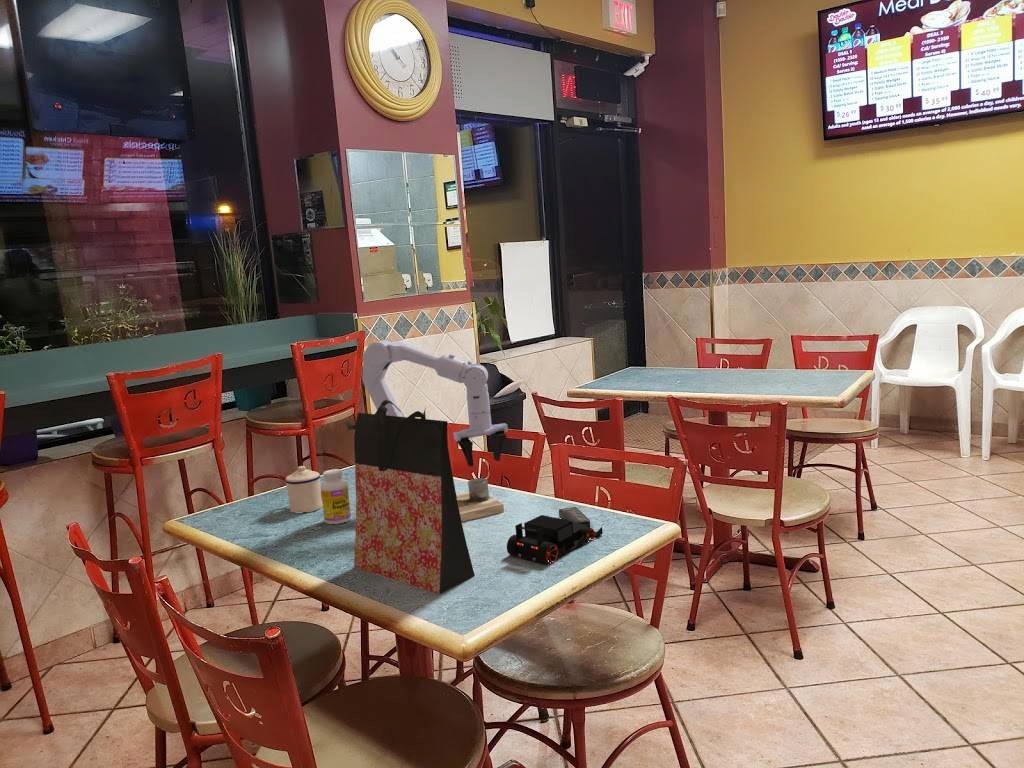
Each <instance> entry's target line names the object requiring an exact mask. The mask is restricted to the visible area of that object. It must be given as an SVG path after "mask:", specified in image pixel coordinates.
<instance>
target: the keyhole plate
mask: <svg viewBox="0 0 1024 768" xmlns="http://www.w3.org/2000/svg"><path fill="white" fill-rule="evenodd" d="M456 496H457V502H458V507H459V512H460V517H461V522H462V523H463V522H467V521H471V520H474V519H479V518H483V517H487V516H492V515H495V514H499V513H504V512H505V507H504V503H502V502H501V501H499V500H497V499H495V498H494V497H491V496H490V495H489V498H488V499H486V500H483V501H477V502H474V501H471V500H470V499H469V490H468V491H464V492H460V493H456Z"/></svg>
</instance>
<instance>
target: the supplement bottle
mask: <svg viewBox="0 0 1024 768" xmlns="http://www.w3.org/2000/svg"><path fill="white" fill-rule="evenodd" d="M322 476H323V479H324V481H323V482H322V483H320V486H321V495H322V504H323V506H322V511H323V512H322V513H323V520H324V522H325V524H328V525H332V524H335V525H340V523H341V524H345V523H347V522H349V521H351V519H352V513H351V503H350V494H349V486H348V482H347V480H346V479H343V470H342V469H339V468H338V469H336V468H334V469H329V470H325V471H323V473H322ZM344 522H345V523H344Z"/></svg>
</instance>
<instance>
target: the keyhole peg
mask: <svg viewBox="0 0 1024 768" xmlns="http://www.w3.org/2000/svg"><path fill="white" fill-rule="evenodd" d="M488 482H489V481H488V478H484V477H483V478H482V477H476V478H472V479H469V480H468V481H467V486H468V491H469V499H470V500H471V501H474V502H477V501H483V500H486V499H488V498H489V496H490V493H489V491H490V490H489V483H488Z"/></svg>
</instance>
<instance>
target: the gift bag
mask: <svg viewBox="0 0 1024 768" xmlns="http://www.w3.org/2000/svg"><path fill="white" fill-rule="evenodd" d="M388 403H390V404H392V405H394V404H393V403H392V402H391V401H389V400H384V401H383V402H382V403H381V405H380V406H379V408H378V410H377V409H376V412H375V413H367V412H366V413H365V412H357V414H356V420H355V424H352V423H349V422H346V421H345V425H346V427H347V430H348V431H350V430H352V431H353V430H354V436H353V439H354V440H353V442H354V444H353V445H354V468H355V469H354V472H355V473H354V474H355V477H354V478H355V533H354V534H355V538H354V540H355V541H354V557H353V558H354V559H353V568H354V567H355V568H354V569H357V568H358V570H360V569H361V570H360V571H364V572H367V573H371V574H373V575H376V574H377V576H380V577H383V578H386V579H390V580H393V581H396V582H400V583H403V584H406V585H409V586H413V587H415V588H419V589H422V590H425V591H428V592H431V593H435V594H438V595H440V594H442V593H444V592H446V591H448V590H450V589H452V588H453V587H455V586H458V585H459V584H462V583H464V582H465V581H467V580H469V579H471V578H473V577H475V576H476V575H475V571H474V567H473V564H472V560H471V555H470V552H469V549H468V544H467V539H466V536H465V535H466V534H465V531H464V526H463V522H461V517H460V512H459V507H458V502H457V496H456V494H457V492H456V486H455V480H454V474H453V468H452V464H451V457H450V451H449V442H448V425H449V424H448V420H441V419H440V420H438V419H429V418H428V419H427V417H426V406H425V408H424V411H423V412H421V411H419V410H417V411H414V412H413V413H411V414H410V415H408V416H404V414H403V412H402V410H401V409H400V408H399V406H398V407H396V406H395V405H394V406H395V407H396V408H397V409H398V410H399V411H400V412H401V414H402V416H403V417H399V416H388V415H386V412H387V410H388V409H387V408H386V407H385V405H386V404H388Z"/></svg>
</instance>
